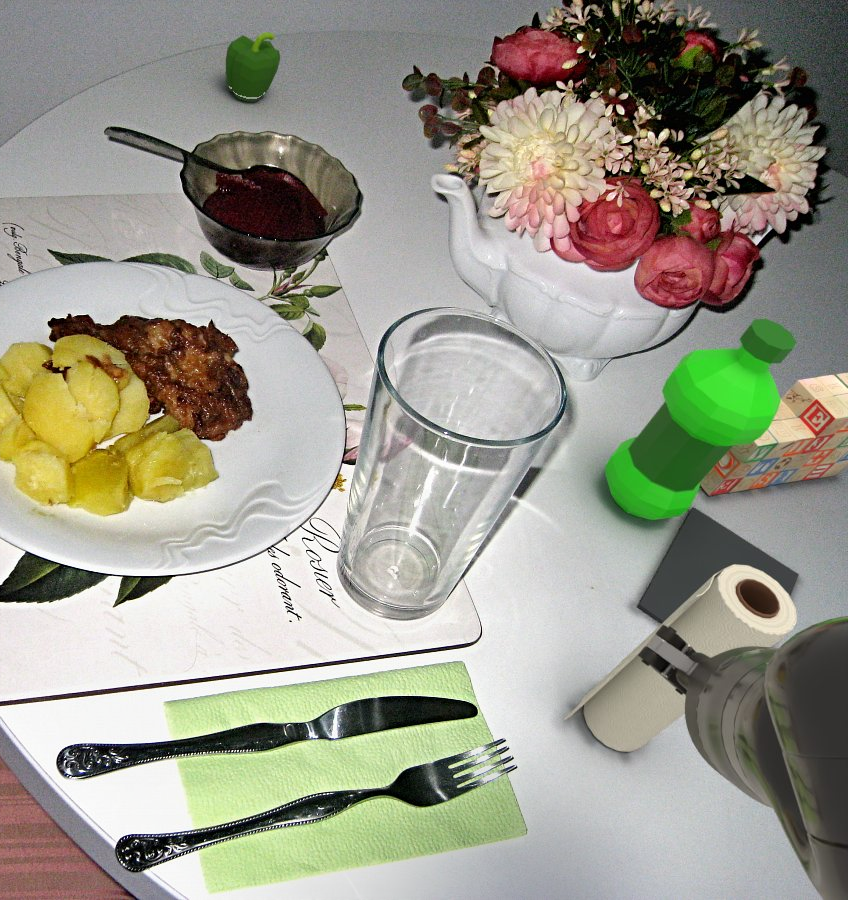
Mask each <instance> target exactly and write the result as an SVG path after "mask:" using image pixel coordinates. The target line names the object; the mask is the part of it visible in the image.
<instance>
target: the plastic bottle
mask: <svg viewBox="0 0 848 900" xmlns="http://www.w3.org/2000/svg"><path fill="white" fill-rule="evenodd" d="M739 342H740V346H739V347H738V348H733V347H732V348H713V349H711V348H710V349H695V350H692V351H690V352H689V353H687V354H686V355H683V356H682V358H681V359H680V361H679V362H678V363H677V364H676V366H675V367H674V369H673V370H672V372H671V373H670V374H669V376H668V377H667V379H665V382H664V385H663V387H662V390H661V392H662V395H663V398H664V402H663V403H662V405H660V406H659V408H658V410H657V411H656V412H655V414H654V415H653V416H652V417H651V418H650V420H649V421H648V423H646V425H645V426H644V427H643V429H642V430H641V431H640V432H639V434H638V435H637V436H634V437H632V438H629V439H626V440H624V441H623V442H621V443H620V444H619V445H618V446H617V448H616V449H615V451H613V454H612V455H611V456H610V457H609V459H608V461H607V462H606V463H605V469H604V474H605V478H606V482H607V485H608V488H609V491H610V495H611V496H612V497H613V500H614V502H615V503H616V504H617V505H618V506H619V507H620V508H621V509H622V510H623V511H624V512H625V513H627V514H630V515H632V516H635V517H637V518H641V519H647V520H650V521H654V520H662V519H672V518H676V517H679V516H681V515H684V514H685V513H686V512H687V511H688V510H689V508H691V506H692V504H693V502H694V500H695V499H696V497H697V495H698V493H699V490H700V487H701V485H700V483H701V480H702V479H703V478H704V477H705V476H706V475H707V474H708V473H709V472H710V470H711V469H712V468H713V467H714V466H715V465H716V464H717V463H718V462H719V461H720V460H721V458H722V457H723V456H724V455H725V454H726V453H727V452H728V451H729V450H730V449H731V448H732V446H733V445H743V444H750V443H752V442H753V441H755V440H757V439H758V438H760V437H761V436H762V435H763V434H764V433H765V432H766V431H767V429H768V428H769V427H770V425H771V423H772V421H773V419H774V417H775V415H776V413H777V411H778V408H779V405H780V402H781V400H780V398H781V396H780V394H779V391H778V388H777V384H776V382H775V380H774V378H773V375H772V373H771V371H770V369H769V368H770V366H771V365H772V364H781V363H782V362H783V361H784V360H785V359H786V358H787V357H788V355H789V354H790V353H791V352H792V351H793V350H794V349H795V346H796V344H797V343H798V342H797V341H796V339H795V337H794V335H793V334H792V332H791V331H789V330H788V329H787V328H786V327H785V326H783V325H781V324H780V323H778V322H776V321H774V320H773V321H772V320H770V319H767V318H755V319H754V320H753V321H752V322H751V323H750V324H749V326H748V327H747V328H746V329H745V331H744V332H743V333H742V335H740V338H739Z"/></svg>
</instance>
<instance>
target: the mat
mask: <svg viewBox="0 0 848 900" xmlns="http://www.w3.org/2000/svg"><path fill="white" fill-rule="evenodd" d="M734 564H736V565H748V566H750V567H753V568H755V569H758V570H760V571H763V572H764V573H766V574H767V575H768V576H770V577H771V578H773V579H774V580H776V581H777V582H778V583H779V584H780V585H781V586H782V588H783V589H784V590H785V591H786V592H787V593H788V594H789V596H790V597H791V596H792V594H793V591H794V588H795V586H796V583H797V580H798V578H799V575H800V574H799V573H798V572H796V571H795V570H793V569H791V568H790V567H788V566H786V564H784V563H782V562H780V561H778V560H777V559H775V558H774V557H773V556H771V555H770V554H768V553H766V552H765V551H763V550H761V549H760V548H759V547H757V546H755V545H754V544H752V543H751V542H749V541H748V540H746V539H744V538H743V537H741V536H740V535H738V534H737V533H736V532H734V531H732V530H731V529H729V528H728V527H726V526H724V525H723V524H721V523H719V521H716V520H715V519H713V518H712V517H710V516H708V515H707V514H706V513H704V512H702V511H701V510H699V509H697V508H696V507H695V506H693V507H691V508H690V510H689V511H688V514H687V515H686V518H685V519H684V521H683V523H682V525H681V527H680V528H679V530H678V532H677V534H676V536H675V537H674V539H673V541H672V543H671V545H669V548H668V550H667V552H666V553H665V555H664V557H663V559H662V561H661V562H660V564H659V566H658V568H657V570H656V572H655V574H654V576H653V577H652V579H651V581H650V583H649V584H648V587H647V588H646V590H645V592H644V593H643V596H642V597H641V599H640V601H639V603H638V605H637V608H638V609H639V610H641V611H643V612H644V613H645V614H647V615H649V616H650V617H651V618H653V619H654V620H656V622H658V623H660V625H661V624H662V623H663V622H664V621H665V620H666V619H667V618H668V617H670V616H671V615H672V614H673V613H674V612H675V611H676V610H677V609H678V608H679V607H680V606H681V605H682V604H683V603H684V602H686V601H687V600H688V599H689V598H690V597H691V596H692V595H693V594H694V593H695V592H696V591H697V590H698V589H699V588H700V587H702V586H703V585H704V584H705V583H706V582H707V581H708V580H709V579H710V578H711V577H712V576H713V575H715V574H716V573H718V572H719V571H721V570H723V569H725V568H727V567H729V566H732V565H734Z"/></svg>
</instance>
